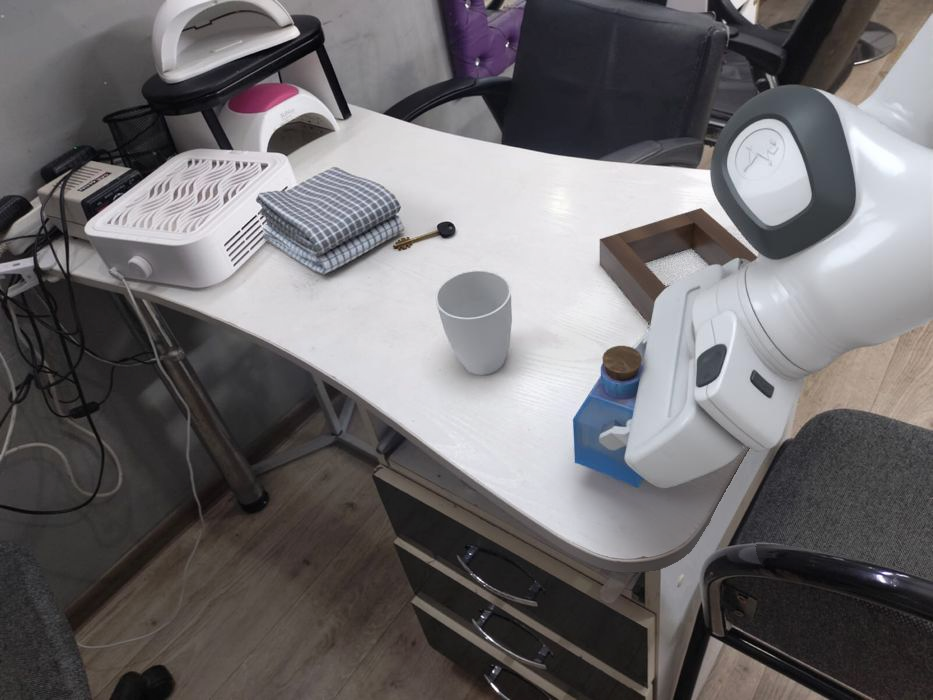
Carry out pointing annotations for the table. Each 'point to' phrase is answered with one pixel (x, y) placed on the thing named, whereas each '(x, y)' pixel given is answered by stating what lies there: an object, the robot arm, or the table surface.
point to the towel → (330, 219)
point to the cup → (477, 318)
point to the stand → (664, 253)
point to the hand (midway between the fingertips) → (613, 403)
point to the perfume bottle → (609, 414)
